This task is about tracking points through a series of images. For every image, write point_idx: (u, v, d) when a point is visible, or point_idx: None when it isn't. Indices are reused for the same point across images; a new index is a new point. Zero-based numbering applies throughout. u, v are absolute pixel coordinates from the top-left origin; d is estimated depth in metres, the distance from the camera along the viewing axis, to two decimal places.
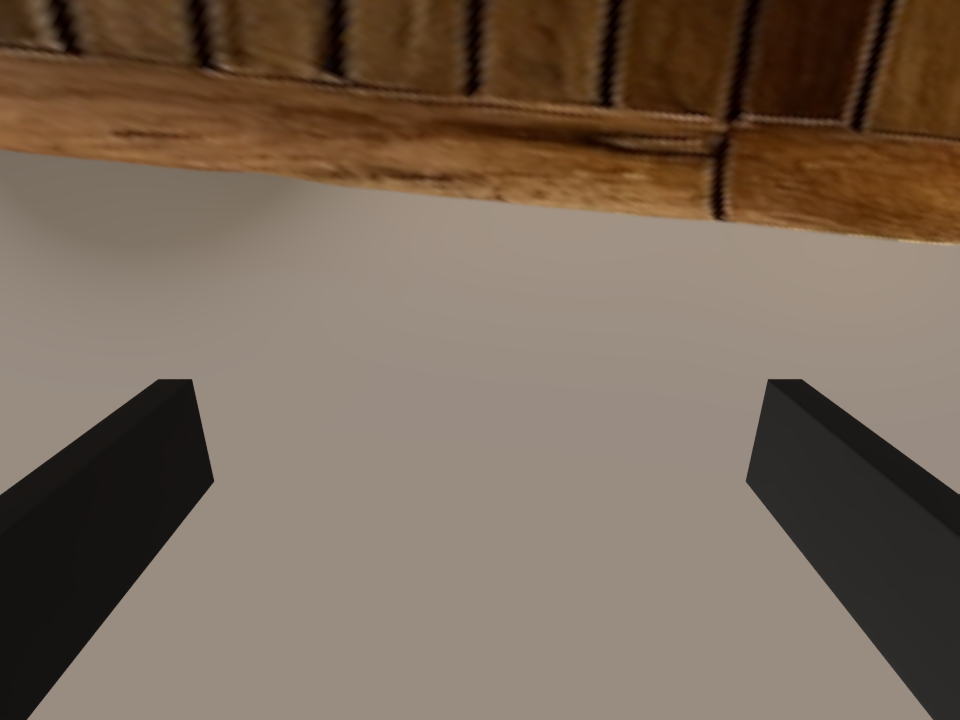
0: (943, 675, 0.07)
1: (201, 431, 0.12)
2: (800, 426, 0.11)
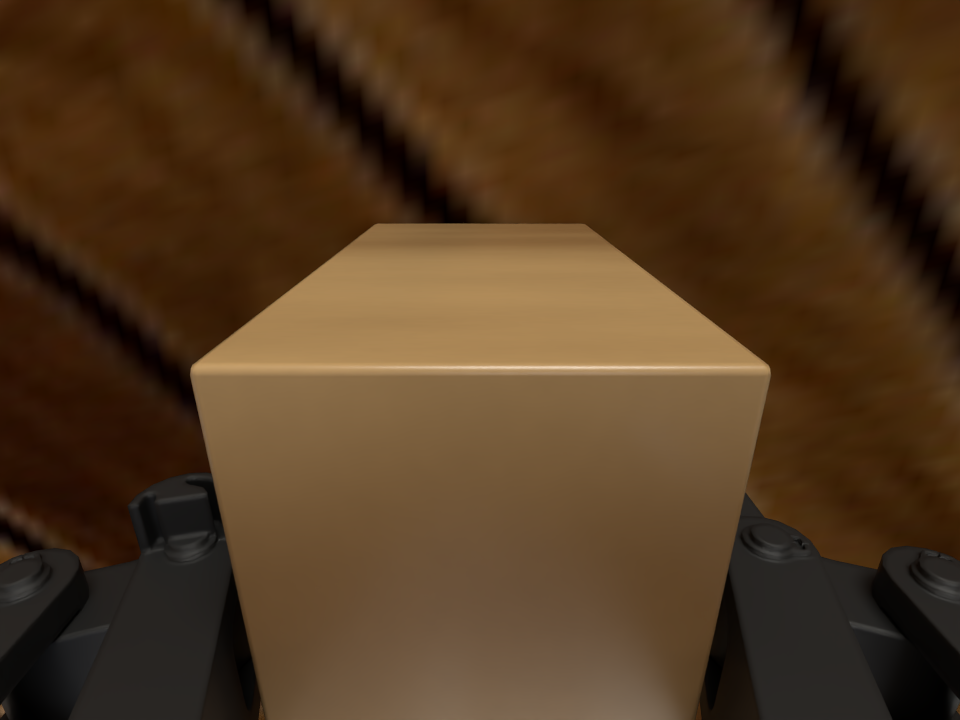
0: None
1: None
2: None
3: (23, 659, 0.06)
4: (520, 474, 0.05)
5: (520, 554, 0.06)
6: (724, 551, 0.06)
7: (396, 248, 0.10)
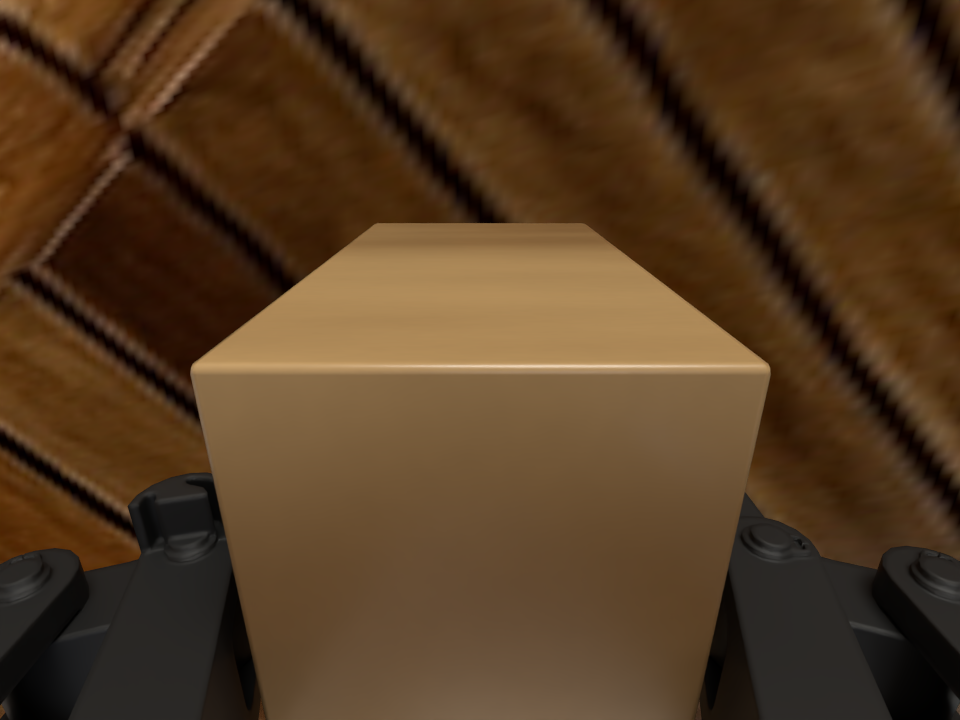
0: None
1: None
2: None
3: (23, 659, 0.06)
4: (520, 473, 0.05)
5: (520, 553, 0.06)
6: (724, 550, 0.06)
7: (396, 247, 0.10)
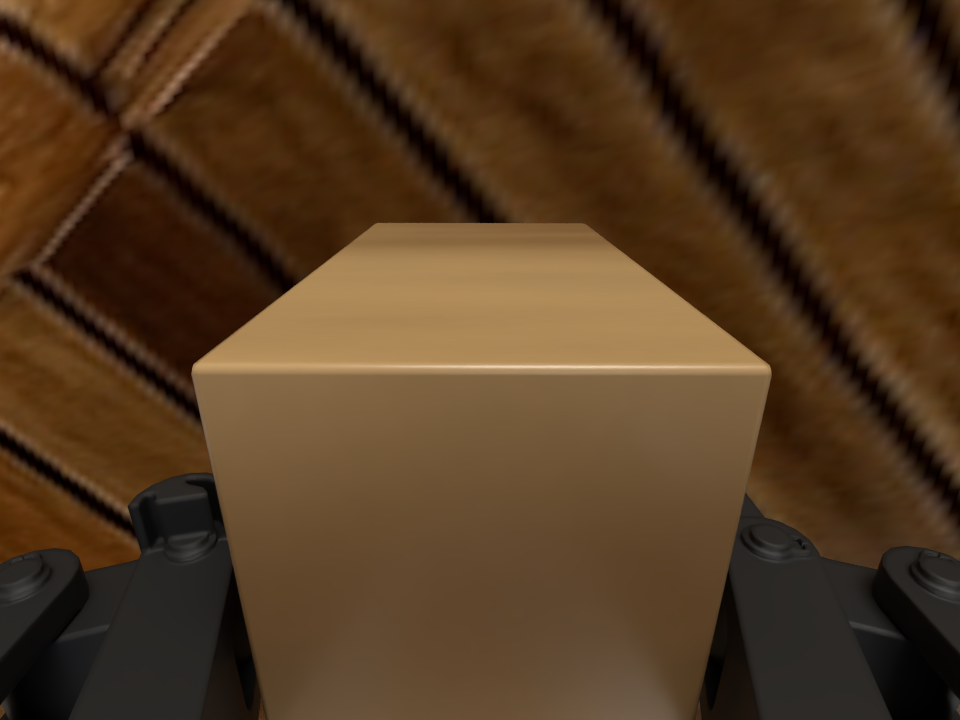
0: None
1: None
2: None
3: (23, 659, 0.06)
4: (522, 473, 0.05)
5: (521, 552, 0.06)
6: (724, 550, 0.06)
7: (397, 247, 0.10)
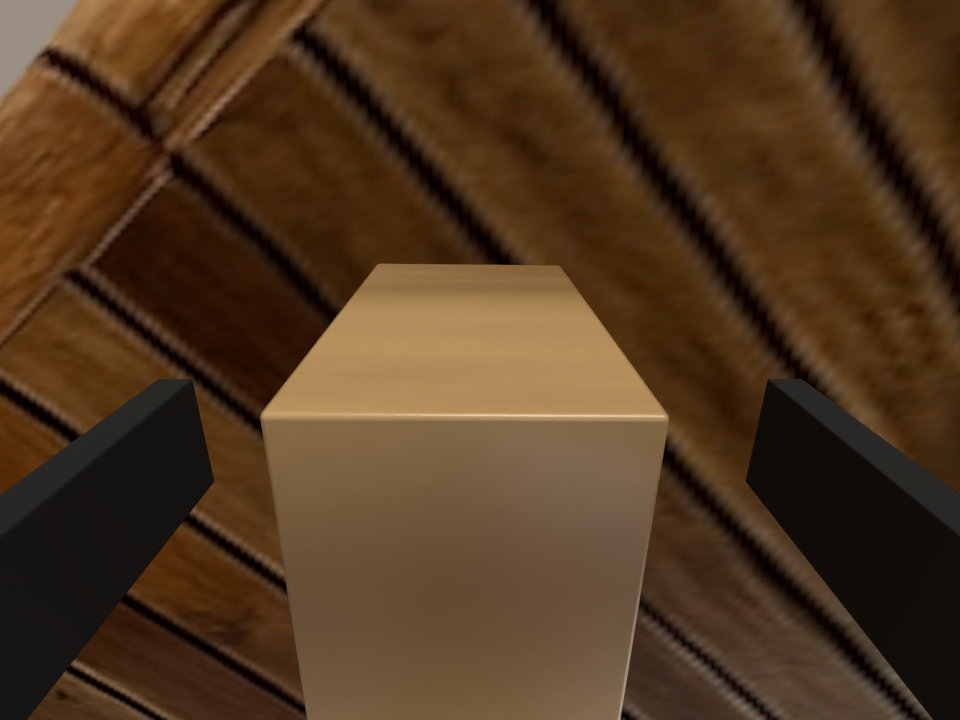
0: (943, 675, 0.07)
1: (200, 431, 0.12)
2: (800, 426, 0.11)
3: None
4: (494, 490, 0.07)
5: (495, 547, 0.08)
6: (642, 545, 0.08)
7: (398, 294, 0.12)
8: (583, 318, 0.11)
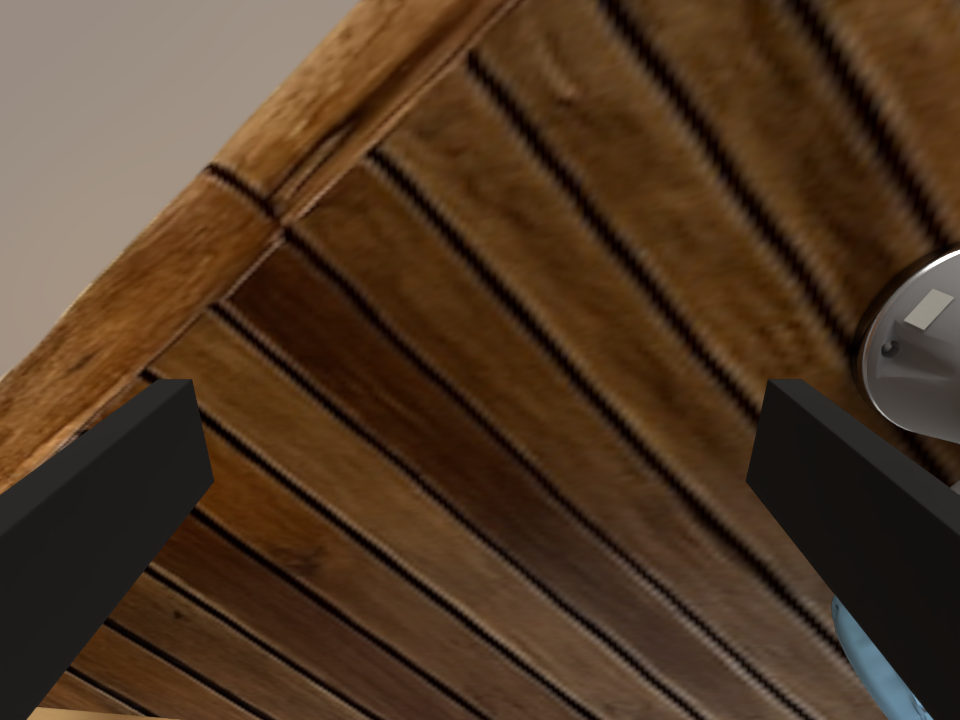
0: (943, 675, 0.07)
1: (201, 431, 0.13)
2: (801, 426, 0.11)
3: None
4: None
5: None
6: None
7: None
8: None
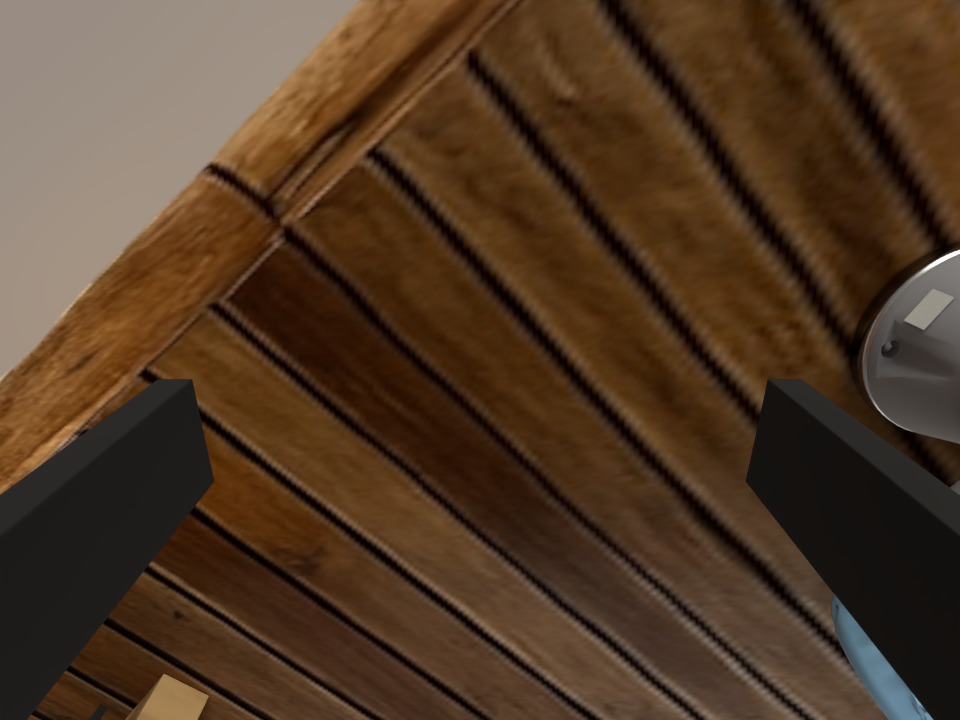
0: (943, 675, 0.07)
1: (201, 431, 0.13)
2: (801, 426, 0.11)
3: None
4: None
5: None
6: None
7: None
8: None
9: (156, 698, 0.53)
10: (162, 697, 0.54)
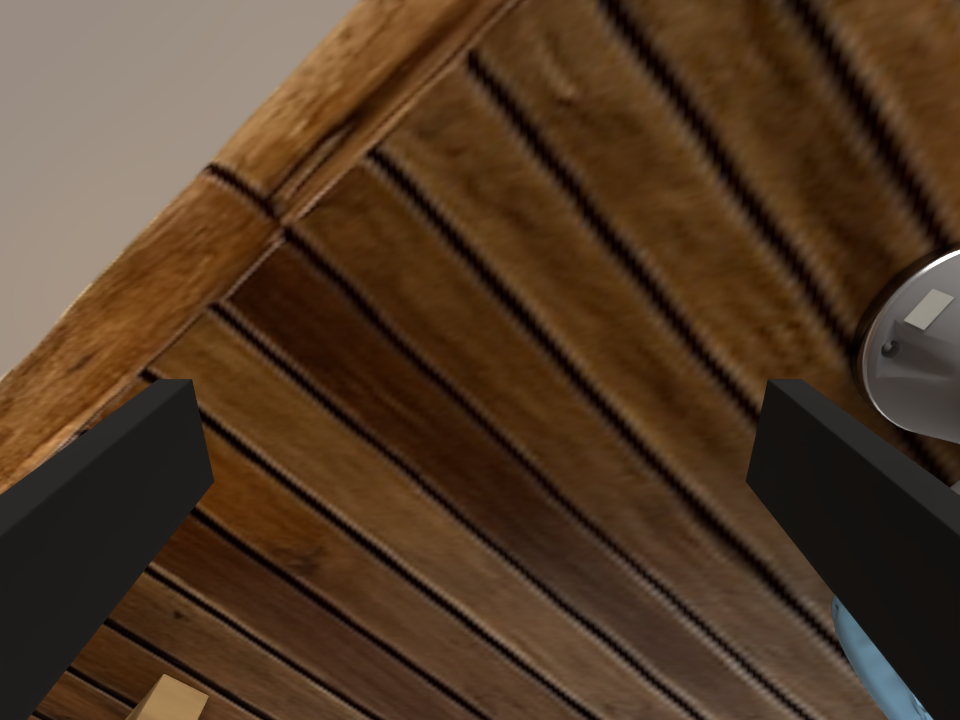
0: (943, 675, 0.07)
1: (201, 431, 0.13)
2: (801, 426, 0.11)
3: None
4: None
5: None
6: None
7: None
8: None
9: (156, 698, 0.53)
10: (162, 697, 0.54)
